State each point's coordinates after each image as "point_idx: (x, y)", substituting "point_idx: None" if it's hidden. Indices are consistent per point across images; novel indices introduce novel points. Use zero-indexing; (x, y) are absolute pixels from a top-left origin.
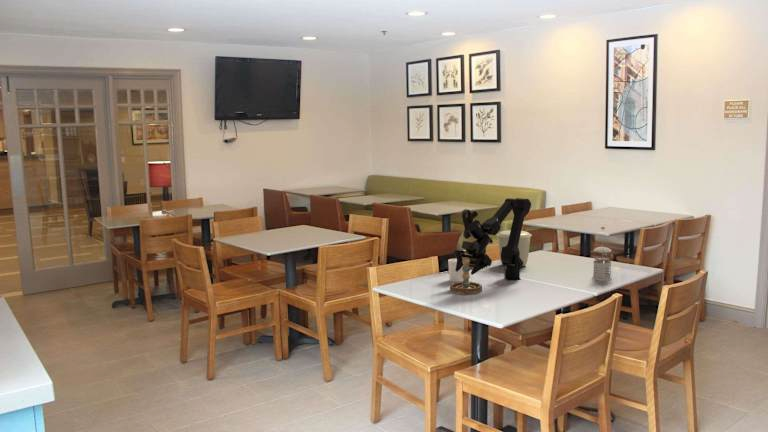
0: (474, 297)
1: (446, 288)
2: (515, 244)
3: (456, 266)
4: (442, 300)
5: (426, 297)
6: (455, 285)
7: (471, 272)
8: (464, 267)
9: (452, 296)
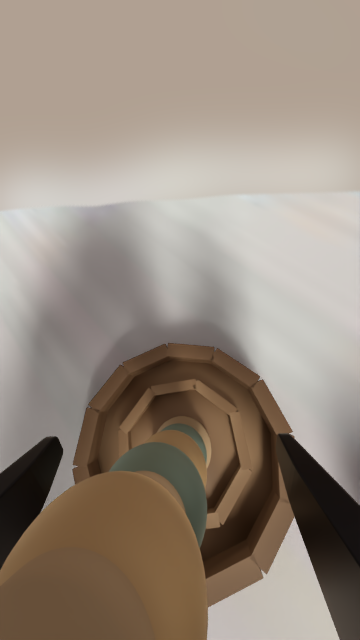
0: (60, 361)
1: (299, 394)
2: None
3: (325, 479)
4: (135, 238)
5: (212, 222)
6: (273, 441)
7: (41, 443)
8: (135, 457)
9: (148, 302)
